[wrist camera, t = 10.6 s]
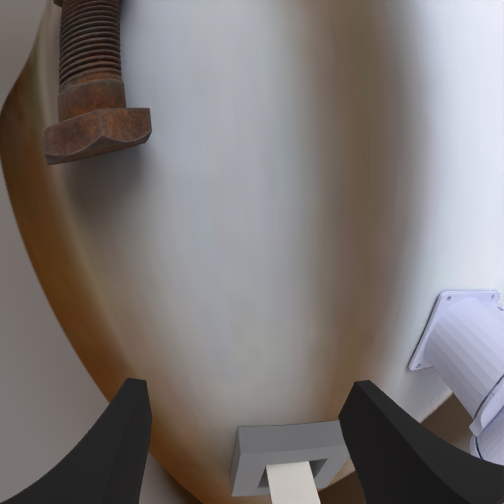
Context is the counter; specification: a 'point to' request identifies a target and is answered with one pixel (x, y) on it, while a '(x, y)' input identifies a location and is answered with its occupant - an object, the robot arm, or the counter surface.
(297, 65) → the counter surface
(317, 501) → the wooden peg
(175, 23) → the counter surface
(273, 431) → the socket block
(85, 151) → the bolt
